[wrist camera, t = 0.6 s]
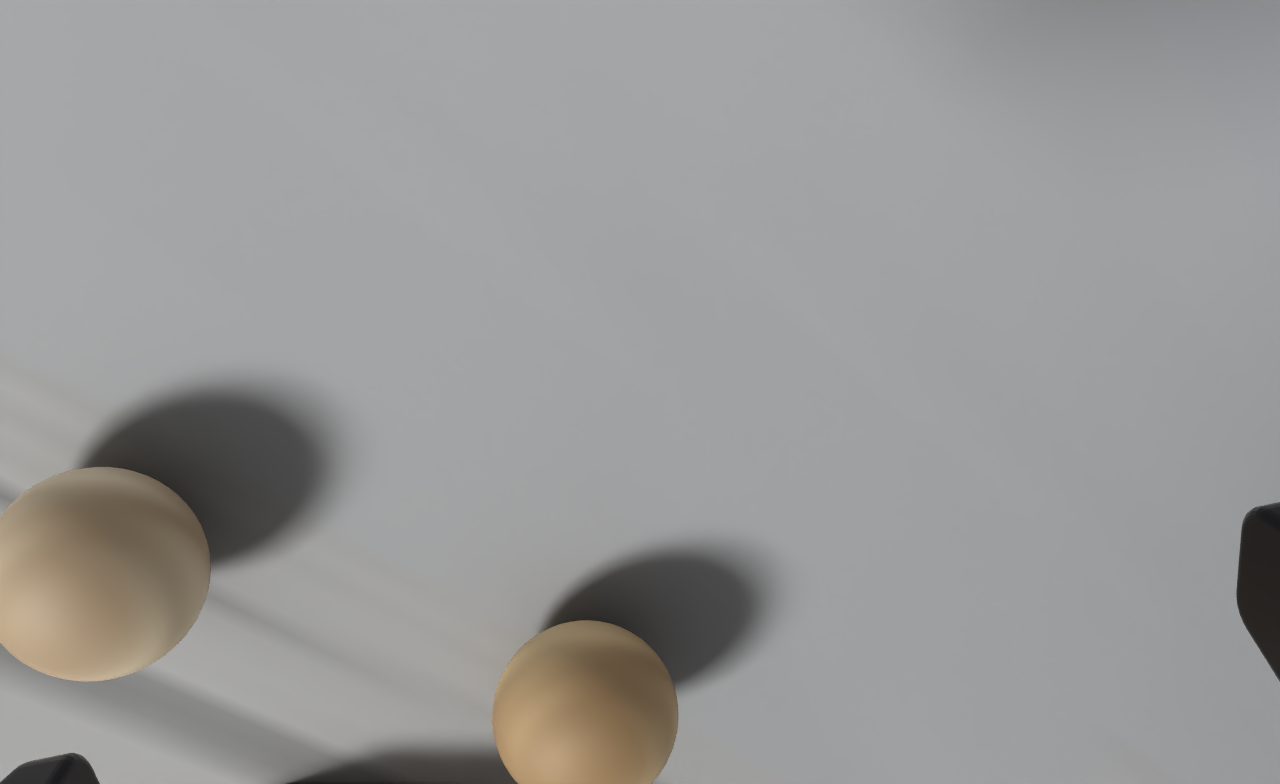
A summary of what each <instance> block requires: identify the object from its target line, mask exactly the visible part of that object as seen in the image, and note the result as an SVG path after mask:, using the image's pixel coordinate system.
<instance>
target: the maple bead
mask: <svg viewBox="0 0 1280 784" xmlns="http://www.w3.org/2000/svg"><path fill="white" fill-rule="evenodd" d="M210 572H211V567H210V552H209V548H208V543H207V540H206V537H205V534H204V532H203V529H202V526H201V524H200V522H199V521H198V519H197V517H196V515H195V514H194V513H193V511H192V510H191V509H190V508H189V506H188V505H187V504H186V503H185V501H184V500H183V499H182V498H181V497H180V496H179V495H178V494H176V493H175V492H174V491H173V490H171V489H170V488H169V487H167V486H166V485H164V484H162V483H161V482H159V481H157V480H155V479H153V478H151V477H149V476H147V475H144V474H141V473H138V472H135V471H131V470H127V469H122V468H114V467H91V468H82V469H76V470H72V471H67V472H64V473H61V474H58V475H55V476H53V477H51V478H48V479H46V480H44V481H42V482H40V483H38V484H36V485H35V486H33V487H32V488H30V489H29V490H27V491H26V492H25V493H23V494H22V495H21V496H19V497H18V498H17V499H16V500H15V501H14V502H13V503H12V504H11V505H9V507H8V508H7V509H6V510H5V512H4V513H3V514H2V515H1V517H0V642H1V644H2V645H3V646H4V647H5V648H6V649H7V650H8V651H9V652H10V653H11V654H12V655H13V656H15V657H16V658H17V659H18V660H20V661H21V662H23V663H24V664H26V665H28V666H29V667H31V668H33V669H35V670H37V671H40V672H42V673H45V674H47V675H50V676H54V677H57V678H61V679H67V680H73V681H101V680H108V679H113V678H117V677H121V676H125V675H128V674H131V673H134V672H137V671H139V670H141V669H143V668H145V667H147V666H149V665H150V664H152V663H154V662H156V661H157V660H159V659H160V658H162V657H163V656H164V655H166V654H167V653H168V652H169V651H170V650H172V649H173V648H174V647H175V646H176V645H177V644H178V643H179V642H180V641H181V640H182V639H183V638H184V636H185V635H186V634H187V633H188V631H189V630H190V629H191V627H192V626H193V624H194V623H195V621H196V619H197V618H198V616H199V613H200V611H201V609H202V607H203V604H204V602H205V600H206V596H207V592H208V588H209V582H210Z"/></svg>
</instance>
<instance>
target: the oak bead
mask: <svg viewBox="0 0 1280 784" xmlns="http://www.w3.org/2000/svg"><path fill="white" fill-rule="evenodd" d="M492 723H493V732H494V738H495V742H496V746H497V749H498V752H499V754H500V757H501V759H502V761H503V763H504V765H505V767H506V768H507V770H508V771H509V773H510V774H511V776H512V777H513V779H514V780H515V781H516V782H517V783H518V784H651V783H652V782H653V781H654V780H655V779H656V777H657V776H658V775H659V774H660V772H661V771H662V769H663V768H664V766H665V764H666V762H667V760H668V758H669V756H670V754H671V752H672V749H673V746H674V742H675V739H676V734H677V728H678V703H677V697H676V692H675V688H674V685H673V683H672V680H671V677H670V675H669V672H668V670H667V669H666V667H665V665H664V664H663V662H662V660H661V659H660V657H659V656H658V655H657V654H656V653H655V651H654V650H653V649H652V648H651V647H650V646H649V645H648V644H647V643H645V642H644V641H643V640H642V639H641V638H639V637H638V636H636V635H635V634H633V633H632V632H630V631H628V630H626V629H624V628H622V627H619V626H617V625H614V624H610V623H606V622H601V621H592V620H579V621H571V622H567V623H562V624H559V625H556V626H553V627H551V628H549V629H547V630H545V631H543V632H541V633H540V634H538V635H536V636H535V637H533V638H532V639H530V640H529V641H528V642H527V643H525V644H524V645H523V646H522V647H521V648H520V649H519V650H518V652H517V653H516V654H515V655H514V656H513V658H512V659H511V660H510V662H509V663H508V665H507V667H506V668H505V670H504V672H503V674H502V676H501V678H500V681H499V683H498V686H497V689H496V693H495V698H494V702H493V718H492Z"/></svg>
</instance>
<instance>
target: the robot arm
mask: <svg viewBox="0 0 1280 784" xmlns="http://www.w3.org/2000/svg"><path fill="white" fill-rule="evenodd" d="M1237 604H1238V609H1239V612H1240V616H1241V618H1242V620H1243V623H1244V625H1245V626H1246V628H1247V630H1248V632H1249V633H1250V635H1251V636H1252V638H1253V640H1254V641H1255V643H1256V644H1257V646H1258V648H1259V649H1260V651H1261V652H1262V654H1263V655H1264V657H1265V659H1266V660H1267V662H1268V663H1269V665H1270V667H1271V668H1272V670H1273V671H1274V673H1275V675H1276V676H1277V678H1278V679H1279V681H1280V502H1278V503H1273V504H1269V505H1264V506H1259V507H1255V508H1253V509H1252V510H1251V511H1249V512H1248V513H1247V514H1246V516H1245V518H1244V520H1243V524H1242V530H1241V543H1240V555H1239V567H1238V579H1237ZM0 784H100V783H99V781H98V779H97V777H96V775H95V773H94V770H93V768H92V767H91V765H90V764H89V762H88V761H87V760H86V759H85V758H84V757H83V756H81V755H79V754H75V753H68V754H63V755H58V756H54V757H49V758H44V759H39V760H34V761H30V762H27V763H24V764H22V765H20V766H19V767H17V768H16V769H15V770H14V771H12V772H11V773H10V774H9V775H8V776H7V777H6V778H5V779H3V780H2V781H1V782H0Z"/></svg>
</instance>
